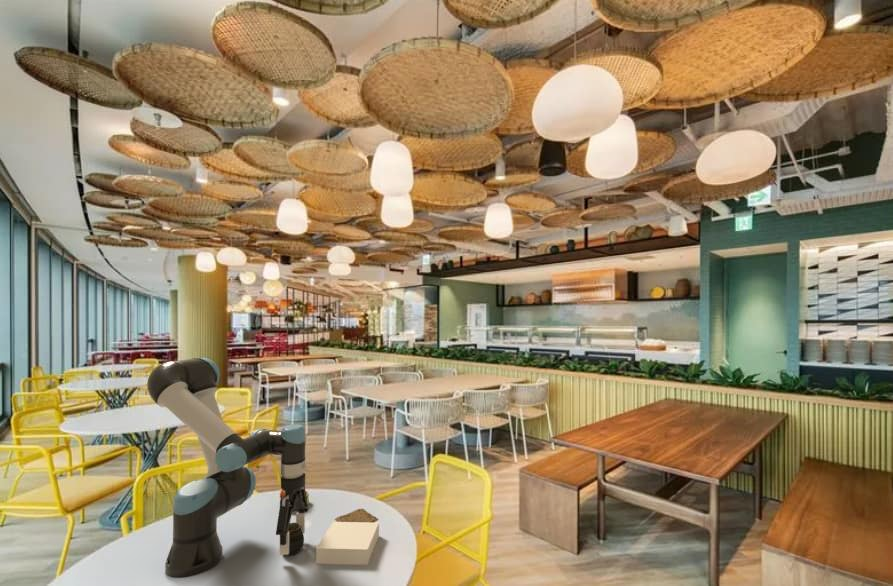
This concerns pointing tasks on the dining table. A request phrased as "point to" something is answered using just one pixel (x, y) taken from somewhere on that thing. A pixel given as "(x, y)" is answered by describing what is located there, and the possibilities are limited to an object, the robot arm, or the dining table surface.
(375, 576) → the dining table surface
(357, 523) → the cream square slab
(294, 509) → the cheeseburger
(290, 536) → the mate gourd
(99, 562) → the dining table surface
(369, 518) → the cookie
